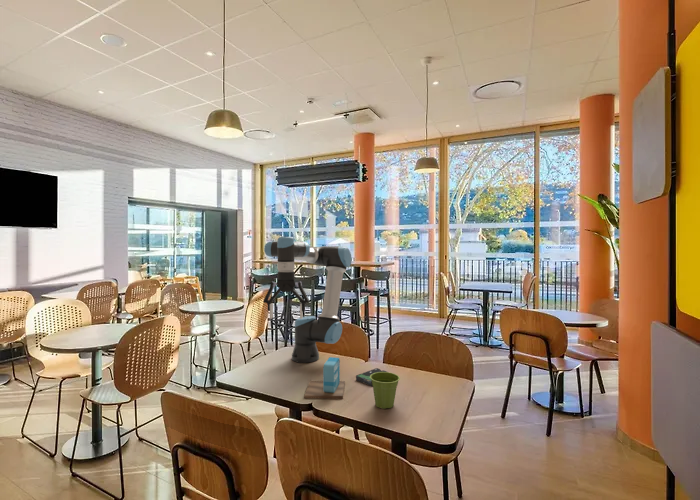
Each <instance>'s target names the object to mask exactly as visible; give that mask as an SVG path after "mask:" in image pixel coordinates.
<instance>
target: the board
mask: <svg viewBox="0 0 700 500" xmlns="http://www.w3.org/2000/svg"><path fill="white" fill-rule="evenodd" d="M307 385H308V386H307V388H306V390H305V392H304V399H325V400H326V399H329V400H332V399H333V400H335V399H337V400H344V394H345V393H344V392H345V386H346V381H345V380H340V382H339V385H338V387H337V389H336V391H335V392H334V393H328V392H324V391H323V380H309V382H308V384H307Z"/></svg>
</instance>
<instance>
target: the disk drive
mask: <svg viewBox="0 0 700 500" xmlns="http://www.w3.org/2000/svg"><path fill="white" fill-rule="evenodd" d="M377 372H388V371H386V370H381V369H380V368H377V367H376V368H374V369H371V370H368V371H365V372H362V373H359V374H357V375H355V380H356V381H357V382H360V383H363V384H366V385H368V386H370V387H373V385H372V380H371V379H370V375H371V374H373V373H377Z"/></svg>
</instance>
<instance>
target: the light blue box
mask: <svg viewBox="0 0 700 500" xmlns="http://www.w3.org/2000/svg"><path fill="white" fill-rule="evenodd" d="M340 362H341V361H340V358H339V357H328V359H326V361H325V362H324V364H323V369H322V372H323V374H322V375H323V376H322V377H323V378H322V381H323V391H324V392H328V393H334V392H335V391H336V389H337V387H338V385H339V382H340V381H341V380H340V379H341V378H340V377H341V376H340V375H341V371H340V370H341V369H340V368H341V365H340Z"/></svg>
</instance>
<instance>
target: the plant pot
mask: <svg viewBox="0 0 700 500" xmlns="http://www.w3.org/2000/svg"><path fill="white" fill-rule="evenodd" d="M370 379H371V380H372V385H373V386H372V389H373V390H372V391H373V397H374V403H375V406H376V407H377V408H380V409H384V410H385V409H391V408H393V407H394V404H395V399H396V394H397V387H398V385H399V381H400V379H401V377H400V376H399V375H398V374H396V373H394V372H389V371H387V372H377V373H373V374H371V375H370Z"/></svg>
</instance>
